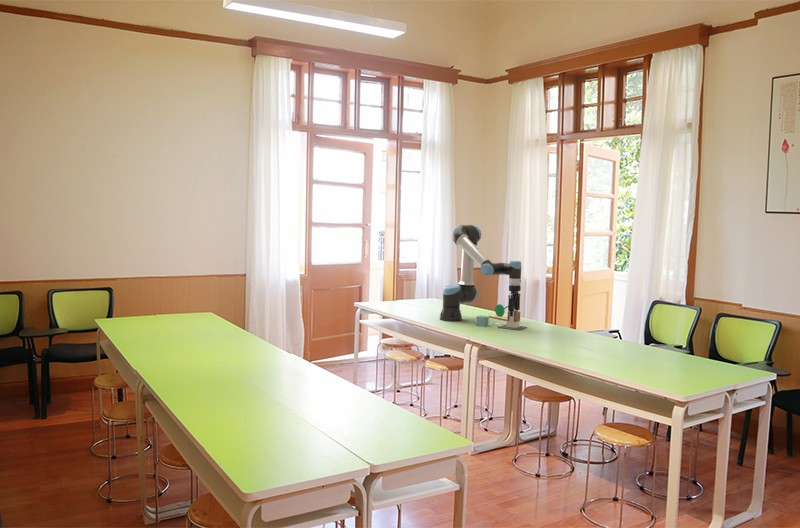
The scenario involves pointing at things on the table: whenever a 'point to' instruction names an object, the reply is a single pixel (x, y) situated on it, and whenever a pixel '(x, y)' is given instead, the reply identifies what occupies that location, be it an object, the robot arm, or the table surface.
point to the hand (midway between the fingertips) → (513, 320)
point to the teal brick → (482, 320)
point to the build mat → (513, 325)
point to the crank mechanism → (499, 313)
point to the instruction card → (500, 324)
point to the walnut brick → (516, 316)
